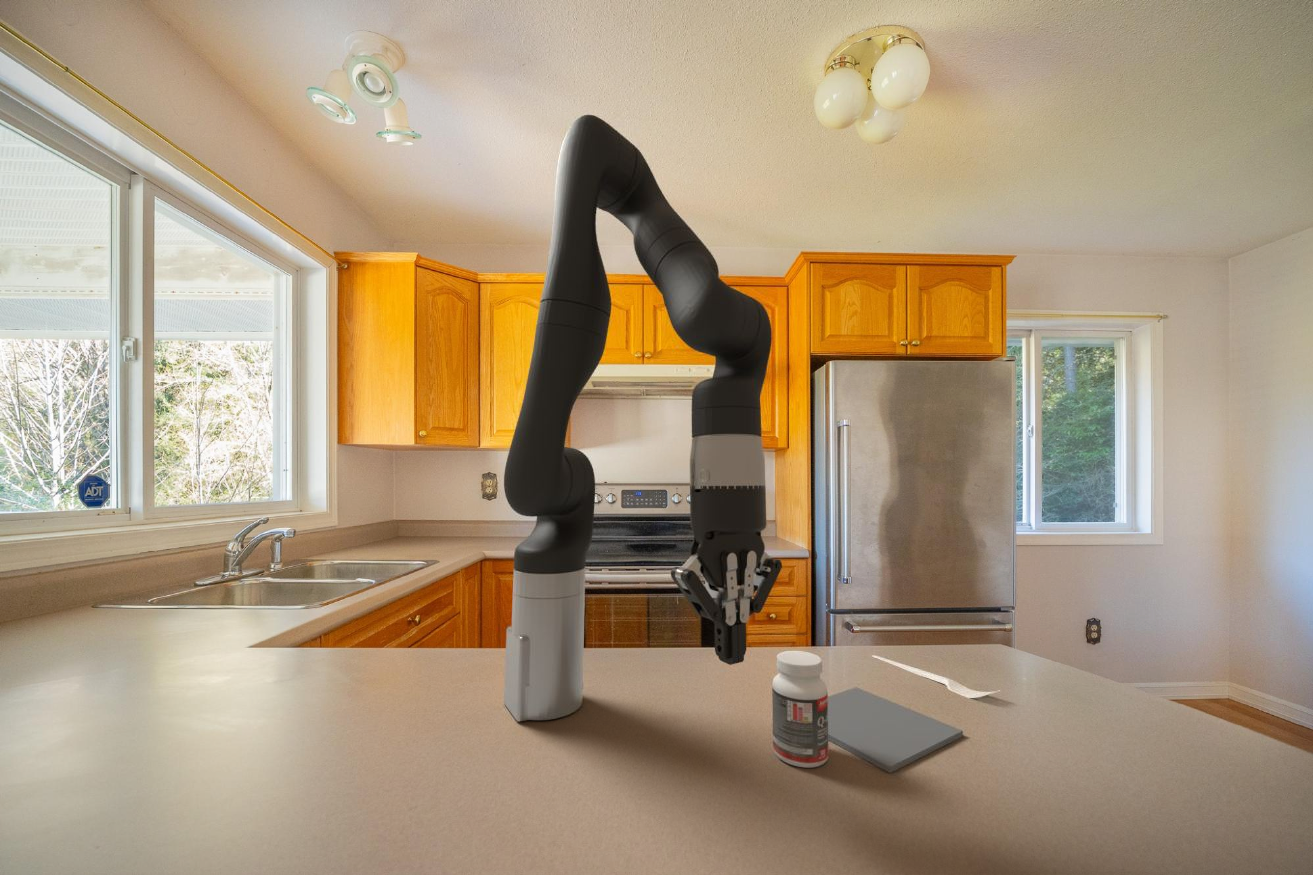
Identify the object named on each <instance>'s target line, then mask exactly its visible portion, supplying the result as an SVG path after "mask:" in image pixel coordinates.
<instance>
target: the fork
mask: <svg viewBox="0 0 1313 875" xmlns="http://www.w3.org/2000/svg"><path fill="white" fill-rule="evenodd" d="M871 657H873V658H876V659H878V660H880V661H882V662H885V663H887V664H890V665H892V666H896V667H898V668H901V669H903V670H905V671H907V672H910V673H912V674H915V675H917V676H920V677H923V678H925V679H929V680H932V681H934V682H938V683H941V684H943V685H945V686H946V688H947V689H948V690H949V691H951V692H953V693H954V694H955V693H956V694H958V695H959V696H962V697H965V698H967V699H975V698H977V699H978V698H981V697H985V696H989V695H992V694H995V693H998V692H1001V691H1002V690H1001V689H999V690H995V691H980V690H979V691H978V690H975V689H974V690H973V689H971V688H968V687H966V686H964V685H962V684H961V683H958V681H955V680H952V679H951V678H948V677H944V676H941V675H939V674H936V673H932V672H929V671H926V670H923V669H920V668H916V667H913V666H910V665H907V664H904V663H900V662H898V661H894V660H891V659H887V658H885V657H882V656H879V655H875V654H873V655H871Z"/></svg>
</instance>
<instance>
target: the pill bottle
mask: <svg viewBox="0 0 1313 875" xmlns="http://www.w3.org/2000/svg"><path fill="white" fill-rule="evenodd" d="M776 668H777V669H778V674H776V675H775V676H774V678H773V679H772V685H771V686H772V688H771V689H772V692H771V693H772V749H773V752H774V753H775V756H777V758H778V759H780V760H781V761H783V762H784V763H786V764H788V765H791V766H793V767H797V768H804V769H805V768H807V769H809V768H810V769H811V768H817V767H821V766H822V765H824V764H825V763H826V762H827V760H828V759H829V754H830V753H829V749H830V747H829V746H830V745H829V740H828V696H829V695H828V689H827V684H826V683H825V681H824V680H823V679H822V678H821V677H820V675H821V674H822V673H823V661H822V657H820V656H819V655H817V654H814V653H812V652H808V651H803V650H787V651H786V650H785V651H781V652H780V653H778V654H777V655H776Z"/></svg>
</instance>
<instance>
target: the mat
mask: <svg viewBox="0 0 1313 875" xmlns="http://www.w3.org/2000/svg"><path fill="white" fill-rule="evenodd" d="M963 736H964V731H963V729H960V728H957V727H955V726H952V725H951V724H947V723H945V722H942V721H940V720H938V719H936V718H933V717H931V716H928V715H925V714H923V713H920V712H918V711H916V710H913V709H911V708H908V707H906V706H904V705H901V704H898V703H895V702H894V701H891V700H888V699H886V698H884V697H882V696H878V695H876V694H874V693H872V692H869V691H866V690H864V689H862V688H860V687H857V686H856V687H853V688H849V689H847V690H844V691H841V692H837V693H835V694H832V695H828V742H832V743H833V744H835V745H837V746H839V747H840V748H843V749H844V750H846V751H848V752H850V753H852V754H854V755H856V756H857V757H859V758H861V759H862V760H865V761H867V762H868V763H870V764H872V765H874V766H876V767H878V768H879V769H881V770H883V771H885V772H887V773H889V774H891V773H894V772H895V771H897V770H899V769H901V768H903V767H905V766H907V765H909V764H911V763H913V762H915V761H917V760H919V759H920V758H923V757H925V756H927V755H929V754H930V753H931V754H932V753H933V752H934V751H937V750H938V749H941V748H942V747H944V746H947V745H949V744H951V743H952V742H955V741H956V740H959V739H960V738H963Z"/></svg>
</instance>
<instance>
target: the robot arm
mask: <svg viewBox="0 0 1313 875" xmlns="http://www.w3.org/2000/svg"><path fill="white" fill-rule="evenodd" d="M558 155H559V156H558V158H557V159H558V160H557V166H556V174H555V175H556V176H555V188H554V202H553V218H552V227H551V228H552V230H551V237H550V245H549V253H548V258H547V265H546V266H547V267H546V272H545V277H544V282H543V287H542V293H541V297H540V303H539V308H538V315H537V320H536V326H535V334H534V342H533V349H532V353H531V354H532V355H531V358H530V359H531V360H530V363H529V369H528V373H527V379H526V384H525V390H524V393H523V394H524V396H523V399H522V404H521V408H520V411H519V415H518V418H517V422H516V425H515V429H514V432H513V436H512V439H511V443H510V448H509V451H508V454H507V458H506V462H505V467H504V473H503V474H504V475H503V489H504V495H505V498H506V501H507V503H508V504H509V506H510V508H511V509H512V510H513V511H514V512H515V513H516V514H519V515H521V516H524V517H532V518H533V517H536V521H535V526H534V527H533V530H532V531H531V533H529V534H530V535H528V536H527V538H525V539H524V540H523V541H522V542H520V543H519V544H518V545H517V546H516V547H515V550H514V556H513V575H512V576H513V581H512V582H513V583H512V602H511V603H512V606H511V607H512V608H511V625H510V626H507V628H506V635H505V636H506V639H505V665H504V666H505V667H504V689H503V690H504V692H503V703H504V705H505V706H506V708H507V710H508V711H509V712H510V714H511V715H512V717H514V719H515V720H516V722H523V721H549V720H556V719H558V718H559V719H560V718H563V717H566V716H568V715H571V714H574V712H576V711H577V710H579V709H580V708H581V706H582V705H583V697H584V696H583V695H584V694H583V693H584V652H585V651H584V643H585V642H584V641H585V639H584V638H585V601H586V600H585V597H586V596H585V595H586V590H585V589H586V562H587V561H586V560H587V559H586V558H587V554H588V551H589V550H590V547H591V544H592V540H593V533H594V532H593V531H594V519H595V518H594V517H595V503H596V479H595V478H596V477H595V472H594V468H593V465H592V462H591V460H590V459H589V457H588V456H587V455H586V454H585V453H584V452H582V451H581V450H579V449H577V448H574V447H568V446H565V444H566V439H567V438H566V437H567V431H568V426H569V421H570V418H571V414H572V410H573V408H574V406H575V403H576V401H577V400H578V397H579V396H580V394H581V393H582V391H583V389H584V387H585V386H586V385H587V383H588V382H589V380H590V379H591V378H592V376H593V374H594V373H595V370H596V369H597V368H598V366H599V364H600V363H601V362H600V361H601V360H602V358H603V356H604V352H605V348H606V344H607V339H608V338H607V337H608V331H609V326H610V319H611V314H612V313H611V312H612V296H611V290H610V286H609V282H608V281H609V280H608V277H607V273H606V269H605V266H604V261H603V259H602V255H601V252H600V248H599V247H600V246H599V242H598V236H597V225H596V223H597V222H596V221H597V209H599V210H601V211H603V212H607V213H609V214H610V215H611V216H613V217H614V218H615V219H617V220H618V221H619V222H620V223H621V224H623V225H624V226H625V227H626V228H627V229H628V230H629V231H630V232H631V234H632V235H633V248H634V251H635V254H636V257H637V260H638V261H639V263H640V265H641V267H642V269H643V270H644V271H645V274H647V276H648V277H649V279H650V280H651V281H652V283H653V284H654V286H655V287H656V289H657V290H658V291H659V293H660V294H661V295H662V299H663V302H664V305H665V309H666V313H667V315H668V318H669V321H670V324H671V326H672V328H673V330H674V332H675V334H676V335H677V336H678V337H679V339H680V340H681V341H682V342H684V344H686V345H687V346H688V347H689V348H691V349H692V350H694V351H695V352H698V353H702V354H705V355H708V356H712V357H715V359H714V360H715V363H714V364H715V365H714V370H713V375H712V377H711V378H707V379H704V380H701V381H699V382H698V383H697V384H696V385H695V386H694V388H693V390H692V394H691V445H690V446H691V448H690V454H689V504H690V505H689V507H690V509H689V516H690V517H689V518H690V519H689V520H690V524H689V525H690V527H691V529H692V532H693V541H692V544H691V545H690V549H689V554H690V556H689V558H688V559H687V560H686V561H685V562H684V563H683V564H682V566H680V567H678V566H675V567H673V568H672V569H671V570H670V576H671V579H672V580H673V581H674V583H675V585H676V586H677V588H679V590H680V591H681V593H682V595H683V596H684V597H685V599H686V601H688V603H689V604H690V606H691V608H692V609H693V610H694V612H695V613H696V614H697V616H699V617H701V618H706V619H709V620H710V621H712V622H713V626H714V652H715V655H716V656H717V657H718V659H719V661H721V662H723V663H725V664H727V665H729V666H731V665H736V664H739V663H740V664H741V663H743V662H744V661H745V660H744V659H745V655H746V653H747V622H748V620H749V619H750V616H752V615H753V614H754V613H755V614H760V613H761V612H762V610H763V608H764V606H765V604H766V602H767V600H768V598H769V596H770V593H771V591H772V589H773V587H774V586H775V583H776V580H777V579H778V577H779V575H780V572H782V571H781V570H782V568H783V562H782V561H781V560H780V559H776V558H772V557H771V556H770V555H769V554H768V553H767V552H766V551H765V550H766V546H765V543H764V540H763V537H762V531H765V529H766V528H767V502H766V501H767V497H766V495H767V493H766V492H767V491H766V490H767V489H766V488H767V486H766V462H765V461H766V460H765V452H764V446H763V439H762V416H761V415H762V409H761V407H762V406H761V394H762V390H763V386H764V383H765V379H766V374H767V368H768V363H769V359H770V354H771V347H772V340H773V338H772V336H773V335H772V334H773V333H772V332H773V331H772V325H771V319H770V317H769V313H768V311H767V309H766V308H765V307H764V305H763V304H762V303H761V302H760V301H758V300H757V299H755V298H754V297H752V296H749V295H748V294H745V293H743V292H742V291H739V290H737V289H735V288H733V287H731V286H730V285H728V284H727V283H726V282H724V281H723V280H722V279H721V278H720V277H719V274H720V271H719V265H718V262H717V261H716V259H715V257H714V255H713V254H712V252H711V251H710V250H709V248H708V247H707V246H706V245H705V244H704V243H703V241H702V240H701V238H699V236H698V235H697V234H696V233H695V231H694V230H693V229H692V228H691V227H690V226H689V225H688V224H687V222H685V220H684V219H683V218H682V217H681V216H680V215H679V214H678V212H676V211H675V209H674V208H673V207H672V205H671V204H670V203H669V201H668V199H667V198H666V197H665V195H664V193H663V191H662V190H661V188H660V186H659V184H658V183H657V180H656V177H655V176H654V173H653V171H652V170H651V168H650V166H649V164H648V162H647V160H646V159H645V157H644V155H643V153H642V152H641V151H640V150H639V149H638V147H637V146H636V145H634V144H633V143H632V142H631V141H630V140H628V139H627V138H626V137H625V136H624V135H623V134H621V133H620V132H619V131H618V130H617V129H615V128H614V127H613V126H612V125H611V124H609V123H608V122H607V121H605V120H603V119H602V118H600V117H598V116H596V115H593V114H583V115H581V116H580V117H578V118H577V119H575V120H574V122H573V123H572V124H571V125H570V127H569V128H568V130H567V132H566V134H565V136H564V138H563V141H562V143H561V147H560V151H559V154H558ZM703 581H704V583H705V584H704V583H703Z"/></svg>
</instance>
